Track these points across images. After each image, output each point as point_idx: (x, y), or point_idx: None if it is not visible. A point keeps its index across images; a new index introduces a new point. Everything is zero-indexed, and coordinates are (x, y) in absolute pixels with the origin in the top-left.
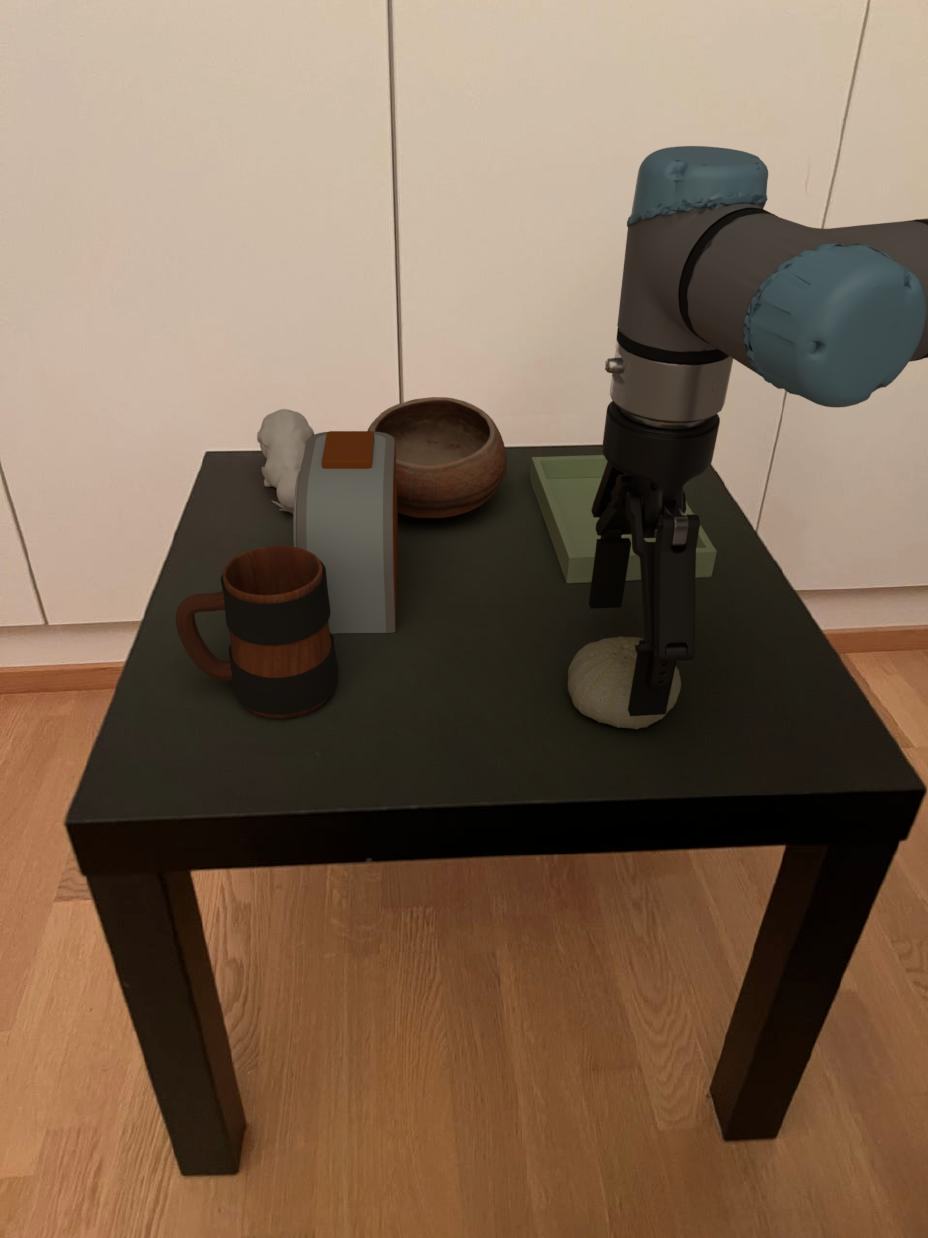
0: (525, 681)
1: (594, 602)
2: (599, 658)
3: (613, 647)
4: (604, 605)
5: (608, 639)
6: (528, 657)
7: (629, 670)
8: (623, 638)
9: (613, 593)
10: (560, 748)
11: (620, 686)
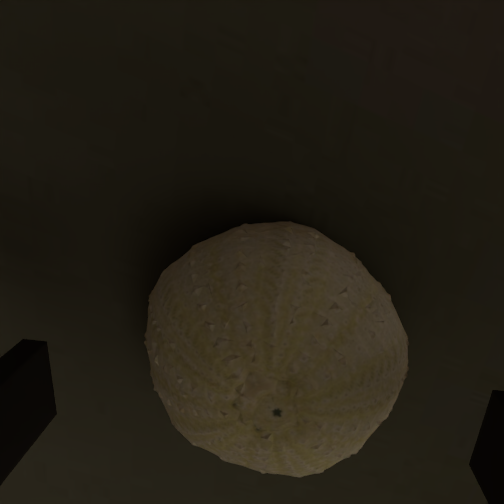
0: (198, 451)
1: (44, 422)
2: (267, 463)
3: (234, 429)
4: (47, 390)
5: (182, 408)
6: (132, 430)
7: (331, 420)
8: (194, 390)
9: (17, 399)
10: (380, 452)
11: (361, 433)
